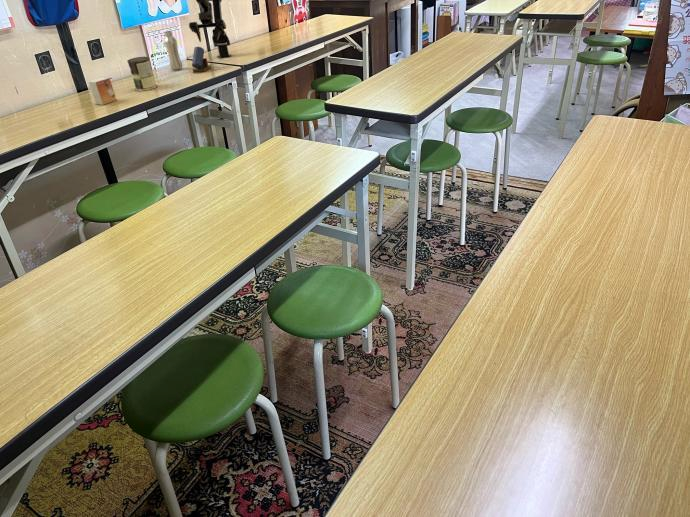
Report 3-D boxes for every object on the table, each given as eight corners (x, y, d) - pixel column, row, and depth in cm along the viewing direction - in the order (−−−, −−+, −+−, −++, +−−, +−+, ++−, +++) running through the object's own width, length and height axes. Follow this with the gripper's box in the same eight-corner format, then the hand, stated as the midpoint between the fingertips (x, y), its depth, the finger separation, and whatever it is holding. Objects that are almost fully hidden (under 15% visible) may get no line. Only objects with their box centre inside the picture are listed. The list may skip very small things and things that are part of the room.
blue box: (200, 65, 287) (195, 45, 281) (208, 65, 286) (204, 44, 280) (191, 70, 278) (186, 49, 273) (200, 70, 277) (195, 49, 272)
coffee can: (133, 91, 257) (124, 62, 249) (138, 86, 266) (130, 57, 258) (154, 89, 258) (146, 60, 250) (158, 84, 266) (150, 55, 258)
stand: (199, 68, 289) (197, 57, 285) (211, 68, 287) (208, 57, 284) (193, 72, 282) (190, 61, 278) (205, 72, 280) (202, 60, 277)
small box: (102, 105, 241) (95, 82, 235) (95, 104, 244) (87, 81, 238) (117, 100, 246) (109, 77, 241) (109, 99, 249) (102, 76, 243)
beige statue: (170, 69, 292) (160, 31, 281) (182, 67, 295) (173, 29, 284) (172, 71, 287) (162, 33, 276) (184, 69, 290) (175, 31, 279)
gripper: (184, 6, 271) (186, 35, 270) (219, 3, 270) (221, 32, 269) (191, 17, 282) (193, 45, 281) (225, 14, 281) (227, 42, 280)
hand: (208, 41), depth 278 cm, fingers open, 9 cm apart
